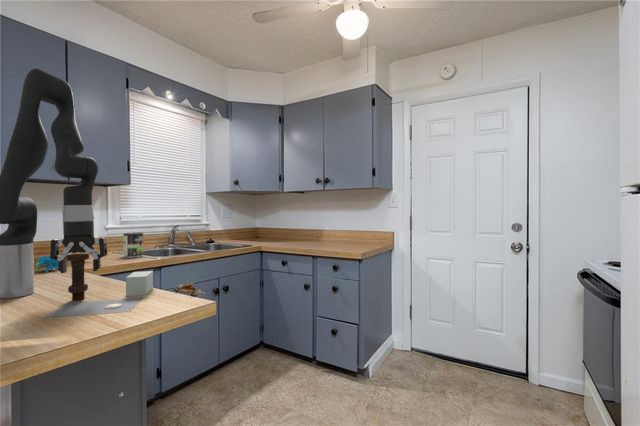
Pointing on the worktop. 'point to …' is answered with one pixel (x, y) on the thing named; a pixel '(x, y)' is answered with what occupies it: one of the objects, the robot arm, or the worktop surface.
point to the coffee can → (133, 245)
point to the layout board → (95, 307)
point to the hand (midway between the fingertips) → (80, 271)
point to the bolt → (77, 276)
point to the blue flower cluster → (46, 263)
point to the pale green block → (139, 283)
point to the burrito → (188, 290)
